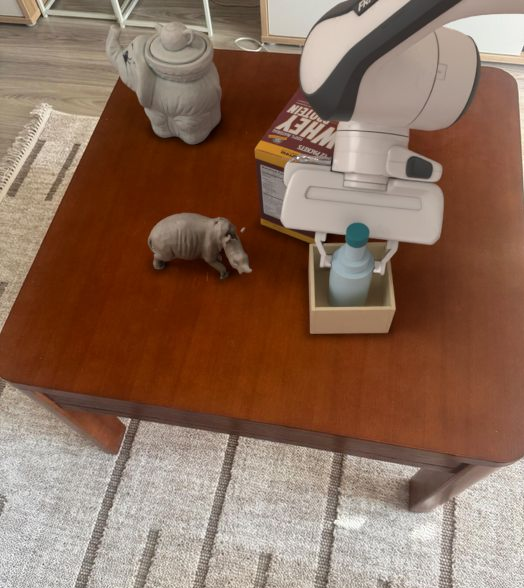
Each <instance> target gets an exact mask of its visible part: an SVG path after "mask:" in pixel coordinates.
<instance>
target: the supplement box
mask: <svg viewBox="0 0 524 588" xmlns="http://www.w3.org/2000/svg"><path fill="white" fill-rule="evenodd" d="M338 124H339V121H323V120H321V119H320V117H319V116H318V115H317V114H316V113H315V112H314V110H313V109H312V108H311V106H310V105H309V103H308V102H307V100H306V99H305V97H304V95H303V93H302V91H301V88H300V86H299V87H298V88H297V90H296V91H295V92H294V94H293V95H292V97H291V98H290V99H289V101H288V102H287V104H285V106H284V108H283V109H282V110H281V111H280V113H278V115H277V117H276V119H274V121H273V123H272V124H271V125H270V127H269V128H268V129H267V131H266V132H265V134H264V135H263V136H262V138H261V139H260V141H259V142H258V143H257V145H256V146H255V148H254V158H255V160H254V161H255V170H256V183H257V191H258V204H259V205H258V206H259V218H260V225H262V226H265V227H267V228H269V229H272V230H275V231H277V232H280V233H282V234H285V235H287V236H289V237H293V238H296V239H298V240H300V241H303V242H306V243H308V244H316V242H315V234H316V232H315V231H306V230H298V229H289V228H285V227H284V225H283V224H282V222H281V220H280V218H281V211H282V205H283V200H284V196H285V192H286V187H285V186H284V183H283V175H284V167H285V165H286V163H287V162H288V160H290V159H291V158H293V157H297V155H298V154H307V155H310V156H330V157H333V156H334V147H335V140H336V132H337V127H338ZM291 163H298V162H297V160H295V161H292V162H291ZM307 164H309V163H307ZM310 164H311V163H310ZM312 165H315V164H312ZM331 172H336V171H332V165H331ZM340 173H341V172H340Z"/></svg>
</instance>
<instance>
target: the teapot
mask: <svg viewBox="0 0 524 588" xmlns="http://www.w3.org/2000/svg"><path fill="white" fill-rule="evenodd" d="M153 26H154V29H155V30H156V33H154V34H153V35H152V34H140V35H138V36H136V37H135V38H133V40H132V41H131V42H130V43H129V45H127V46H123V45H122V44H121V41H120V38H121V34H122V29H121V28H120V27H119V26H117V25H115V24H111V25H110V27H109V30H108V34H107V37H106V42H105V55H106V58H107V60H108V61H109V63H110V64H111V66H113V68H114V69H115V70H116V71H117V72H118V74H119V75H118V76H119V77H120V80H121V82H122V83H123V84H124V85H126V87H128V88H129V89H130V90H132V91H133V92H134V93H135V94H136V96H137V99H138V103H139V104H140V106H141V107H143V109H144V112H145V115H146V116H147V118H148V120H149V121H150V124H151V128H152V131H153V132H154V134H156V135H157V136H158V137H160V138H165V139H166V138H167V139H168V138H172V137H178V138H180V139H181V140H182V141H183V142H184V143H186V144H188V145H196V144H197V145H198V144H199V143H201V142H203V141H204V140H206V138H207V137H208V136H209V134H210V133H211V132H212V130H214V128H215V127H216V126H217V125H219V123H220V121H221V118H222V114H221V99H222V95H223V94H222V93H223V92H222V91H223V90H222V87H221V83H220V75H219V72H218V69H217V66H216V65H215V62H214V61H213V60H214V53H215V50H214V46H213V42H212V40H211V38H210V36H208V35H207V33H204V32H202V31H199V30H198V29H193V28H188V27H187V26H186V25H185V24H184V23H183V22H180V21H170V22H169V23H166V24H165V25H164V24H162V23H160V22H156V23H154V25H153Z"/></svg>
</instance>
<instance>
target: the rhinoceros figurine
mask: <svg viewBox="0 0 524 588" xmlns="http://www.w3.org/2000/svg"><path fill="white" fill-rule="evenodd" d="M245 230H246V227H245V226H244V227H242V228H241V230H240V232H241V233H244V232H245ZM147 245H148V247H149V249H150V250H151V252H152V253H154V254H153V261H152V265H153V267H154V269H156V270H162V269H164V268H166V267H165V266H166V265H165V264H166V262H171V261H173V259H180V260H185V261H192V260H197V259H202V260H204V262H206V263H207V264H208V265H209V266H210V267H212V268H213V269H215V270H216V271H218V272H219V273H220V277H219V278H220V280H222V279H224V278H225V279H226V277H228V276H229V273H230V271H227V268H226V266H225V264H224V263H222V259H223V257H222V254H221V253H220V252H222V251H223V250H224V253H225V256H226V258H227V259H228V262H229V264H230V266H231V267H232V268H233V269H236V270H237V272H238V274H239V275H242V274H243V273H246V274H250V273H252V272H253V269H252V268H250V266H249V265H250V261H249V255H248V254H247V253H246V252H245V251H244V247H243V245H242V241H241V239H240V237H239V235H238V233H237V227H236V226H235V225H234V224H233V223H232V222H231V221H230V220H229V219H227V218H226V217H223V216H222V217H221V216H218V217H215V218H211V217H208V216H205V215H202V214H200V213H197V212H196V213H195V212H193V213H192V212H181V213H175V214H172V215H170V216H167V217H164V218H163V219H162V220H160V221H158V222H157V223H156V225H154V226H153V228H152V229H151V231H150V233H149V236H148V237H147Z"/></svg>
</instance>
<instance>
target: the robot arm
mask: <svg viewBox="0 0 524 588" xmlns="http://www.w3.org/2000/svg"><path fill="white" fill-rule="evenodd" d="M490 15H524V0H344V1H342V2H339V3H338V4H336V5H335V6H333V7H332V8H330V9H329V10H328V11H326V12H325V13H324V14H323V15H322V16H321V17H319V18H318V20H317V21H316V22H315V23H314V24H313V25H312V27H311V29H310V30H309V32H308V34H307V36H306V37H305V40H304V43H303V46H302V49H301V53H300V57H299V63H298V84H299V87H300V88H301V91H302V93H303V95H304V97H305V99H306V100H307V102H308V103H309V105H310V106H311V108H312V109H313V110H314V112H315V113H316V114H317V115H318V116H319V117H320V119H321V120H323V121H339V124H338V127H337V132H336V140H335V147H334V156H333V157H330V156H310V155H307V154H298V155H297V157H293V158H291V159H290V160H288V162H287V163H286V165H285V167H284V175H283V183H284V186H285V187H286V192H285V196H284V200H283V205H282V211H281V218H280V220H281V222H282V224H283V225H284V227H285V228H289V229H298V230H306V231H315V232H316V234H315V242H316V245H317V247H318V250H319V252H320V254H321V261H320V267H321V268H329V269H331V261H332V256H333V254H329V253H327V252H326V249H325V247H324V244H323V243H324V242H325V241H326V240H327V238H328V237H327V236H328V234H334V235H342V236H346V229H347V227H348V226H349V225H350V224H352V223H363V224H365V225H366V226H367V227H368V228H369V231H370V233H369V239H376V240H386V241H385V242H386V248H387V249H388V251H387V252H386V253H385V254H384V256H383V257H382V258H381V260H378V259H374V269H373V273H372V274H377V275H384V272H385V266H386V262H388V261H389V259H390V260H391V258H392V257H393V256H394V255H395V254H396V252H397V251H398V248H399V242H400V243H410V244H418V245H419V244H420V245H426V246H427V245H429V246H432V245H434V244H435V243H436V242H437V241H439V240H440V238H441V235H442V228H443V222H444V209H445V208H444V207H445V197H444V192H443V191H442V189H441V187H440V186H439V185H437V184H436V182H439V181H440V180H441V177H442V174H443V166H442V164H441V163H439V162H437V161H435V160H433V159H431V158H429V157H426V156H424V155H423V154H421V153H420V152H415V151H412V150H410V149H409V144H410V143H409V142H410V130H417V131H418V130H419V131H425V132H427V131H428V132H432V131H439V130H446V129H448V128H451V127H452V126H453V125H454V124H457V122H459V120H461V119H462V118H463V116H465V114H466V113H467V112H468V110H469V109H470V107H471V106H472V104H473V102H474V100H475V98H476V95H477V92H478V89H479V86H480V81H481V73H482V62H481V61H482V60H481V55H480V51H479V48H478V45H477V43H476V42H475V40H474V38H473V37H471V36H470V35H468V34H466V33H463V32H461V31H459V30H456V29H454V28H450V27H446V26H447V25H448V24H450V23H453V22H457V21H459V20H463V19H468V18H471V17H479V16H490ZM295 160H297V162H298V163H291V162H292V161H295ZM307 163H309V164H307ZM310 163H311V164H310ZM312 164H315V165H312ZM331 165H332V171H336V172H331ZM340 172H341V173H340Z"/></svg>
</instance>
